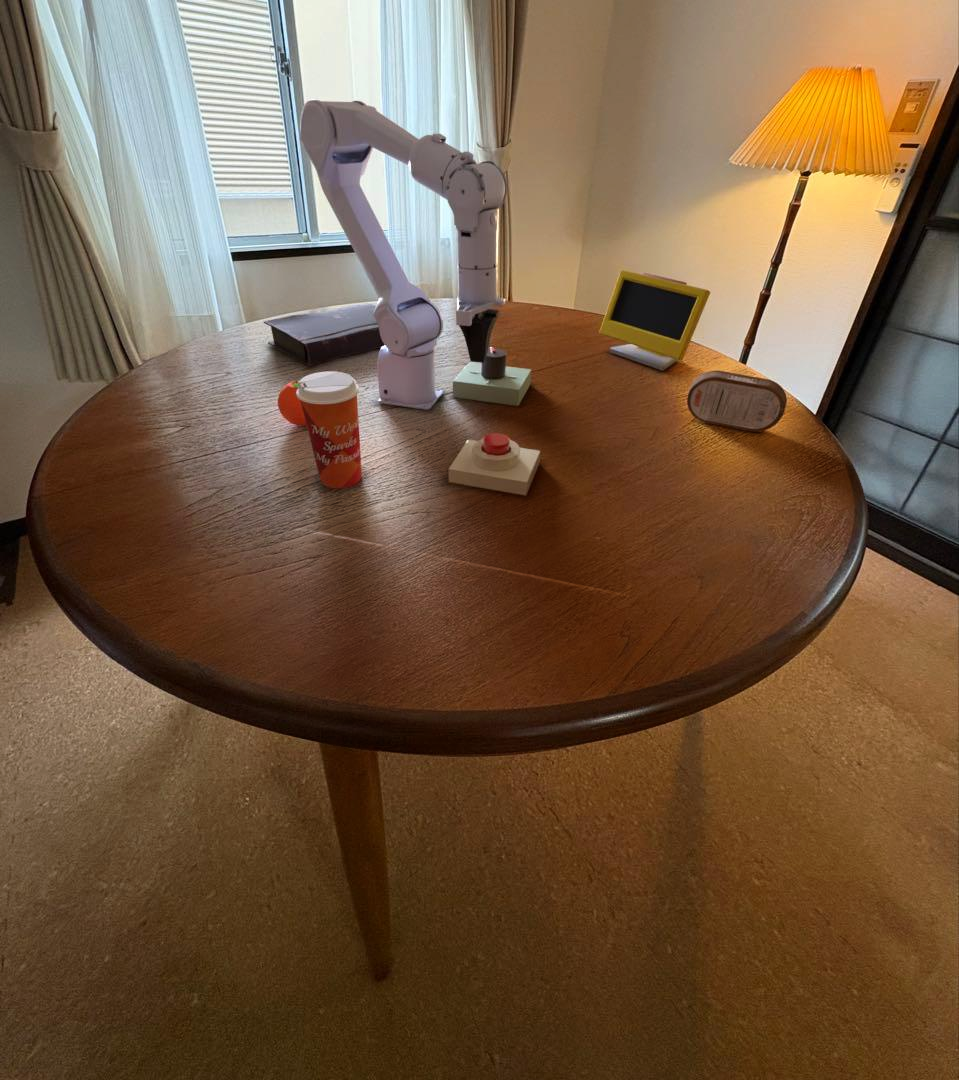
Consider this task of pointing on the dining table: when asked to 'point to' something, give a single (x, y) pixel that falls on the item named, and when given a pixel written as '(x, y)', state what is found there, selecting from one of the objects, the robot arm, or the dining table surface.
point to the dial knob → (494, 364)
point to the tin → (736, 400)
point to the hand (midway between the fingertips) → (478, 360)
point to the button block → (495, 468)
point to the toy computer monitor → (653, 318)
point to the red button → (496, 444)
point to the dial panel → (492, 385)
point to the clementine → (291, 404)
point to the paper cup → (332, 426)
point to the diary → (327, 334)
